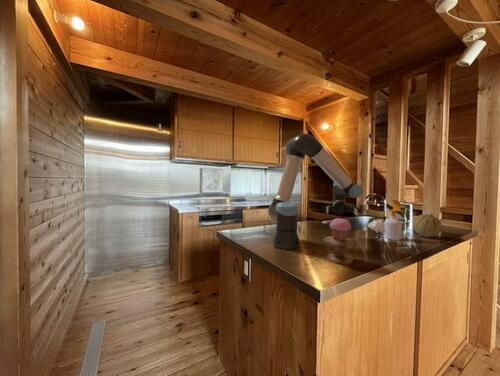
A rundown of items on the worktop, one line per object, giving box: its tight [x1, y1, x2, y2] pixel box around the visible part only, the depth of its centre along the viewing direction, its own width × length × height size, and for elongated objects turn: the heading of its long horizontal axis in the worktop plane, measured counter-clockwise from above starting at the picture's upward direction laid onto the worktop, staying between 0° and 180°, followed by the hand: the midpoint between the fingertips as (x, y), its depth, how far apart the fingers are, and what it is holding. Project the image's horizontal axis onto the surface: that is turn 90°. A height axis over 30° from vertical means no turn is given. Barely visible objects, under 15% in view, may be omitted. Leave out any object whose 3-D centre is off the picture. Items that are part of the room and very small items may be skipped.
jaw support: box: [366, 218, 385, 234], centre depth 154 cm, size 12×9×10 cm
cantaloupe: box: [412, 214, 443, 238], centre depth 140 cm, size 15×15×15 cm
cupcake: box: [329, 217, 352, 241], centre depth 98 cm, size 9×9×10 cm
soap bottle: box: [383, 198, 403, 241], centre depth 136 cm, size 9×9×25 cm
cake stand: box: [322, 235, 358, 265], centre depth 98 cm, size 14×14×9 cm
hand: (341, 211), depth 110 cm, fingers open, 13 cm apart
